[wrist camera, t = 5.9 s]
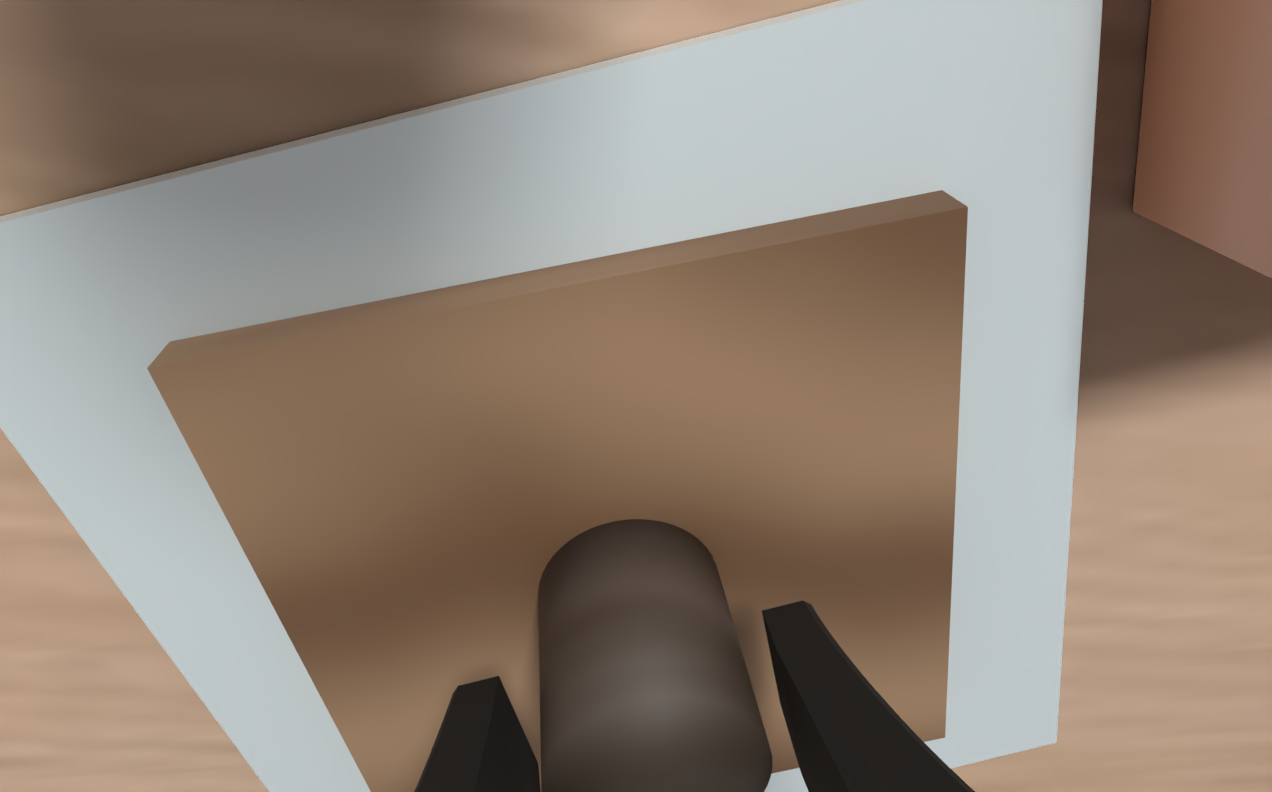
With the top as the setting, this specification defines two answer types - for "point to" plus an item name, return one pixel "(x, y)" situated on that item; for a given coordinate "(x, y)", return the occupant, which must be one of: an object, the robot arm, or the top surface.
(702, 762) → the lid
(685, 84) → the mat
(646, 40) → the top surface
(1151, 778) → the top surface
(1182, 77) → the shallow cardboard tray
